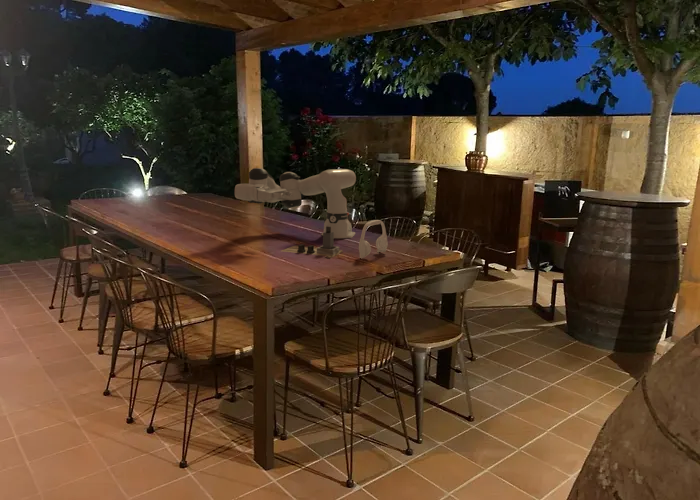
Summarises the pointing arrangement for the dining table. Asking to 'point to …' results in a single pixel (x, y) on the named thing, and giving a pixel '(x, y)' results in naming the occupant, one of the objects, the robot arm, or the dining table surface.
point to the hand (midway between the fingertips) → (286, 194)
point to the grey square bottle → (328, 238)
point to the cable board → (314, 250)
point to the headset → (380, 242)
